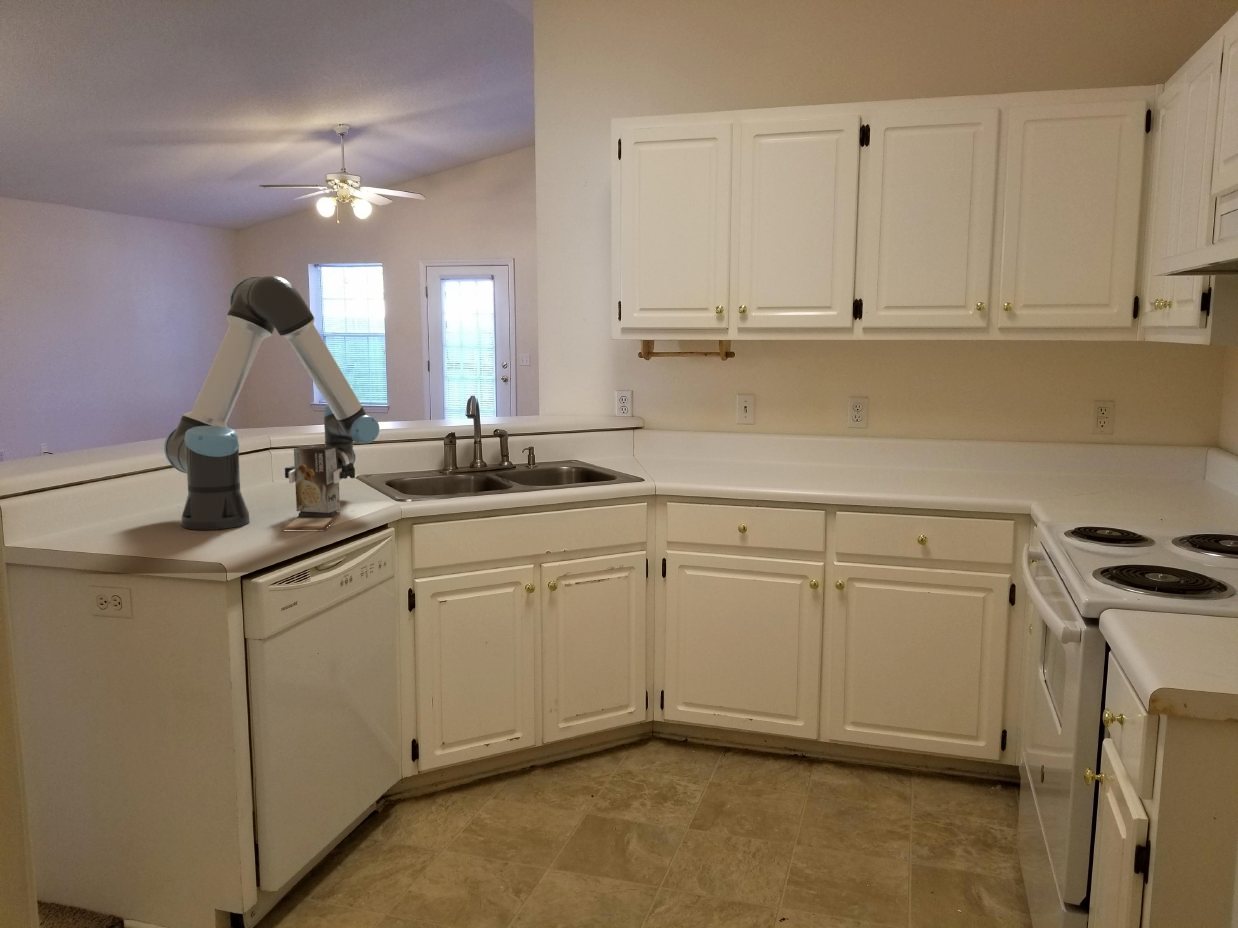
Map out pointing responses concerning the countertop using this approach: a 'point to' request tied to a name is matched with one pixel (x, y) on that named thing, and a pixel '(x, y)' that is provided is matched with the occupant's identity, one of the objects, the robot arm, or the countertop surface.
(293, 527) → the stamp station
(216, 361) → the robot arm
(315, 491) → the grey cardboard box
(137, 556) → the countertop surface
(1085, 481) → the countertop surface
